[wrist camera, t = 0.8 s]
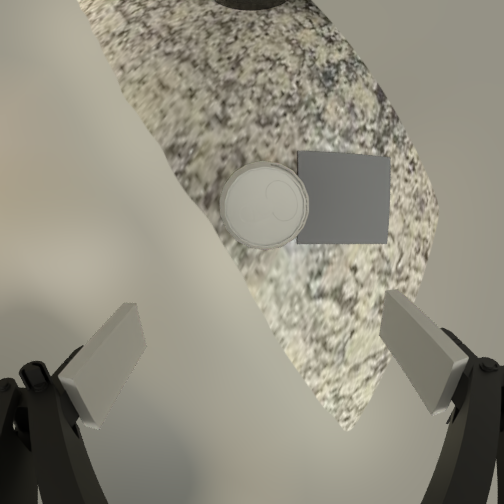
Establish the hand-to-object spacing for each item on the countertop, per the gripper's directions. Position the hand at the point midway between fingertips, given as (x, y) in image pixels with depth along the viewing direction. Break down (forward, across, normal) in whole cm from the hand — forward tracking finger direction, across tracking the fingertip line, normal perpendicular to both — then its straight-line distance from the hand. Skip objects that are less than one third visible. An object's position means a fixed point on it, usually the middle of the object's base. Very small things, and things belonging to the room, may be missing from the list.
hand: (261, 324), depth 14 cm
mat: (+27, +13, +4) cm, 30 cm away
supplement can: (+27, +1, +4) cm, 27 cm away
